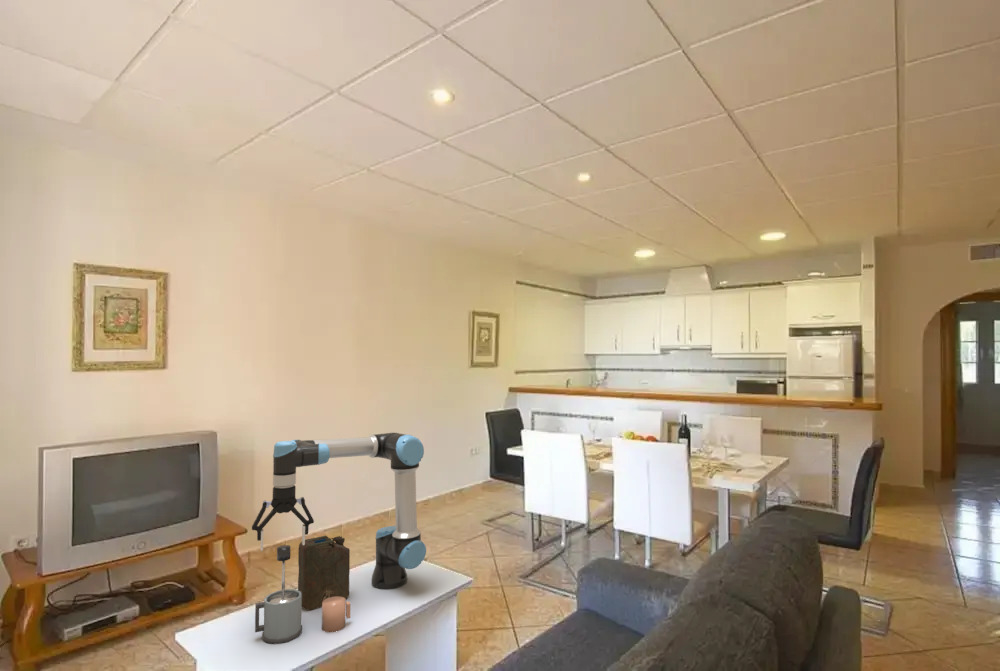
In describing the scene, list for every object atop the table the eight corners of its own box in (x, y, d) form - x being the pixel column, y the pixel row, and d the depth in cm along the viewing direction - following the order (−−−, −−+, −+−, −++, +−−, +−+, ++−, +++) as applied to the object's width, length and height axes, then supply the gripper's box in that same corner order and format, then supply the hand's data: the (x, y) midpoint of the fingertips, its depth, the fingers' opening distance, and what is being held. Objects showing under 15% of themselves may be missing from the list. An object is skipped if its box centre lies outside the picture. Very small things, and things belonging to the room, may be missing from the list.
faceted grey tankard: (300, 622, 195) (301, 586, 196) (303, 639, 183) (304, 600, 184) (254, 631, 189) (255, 594, 189) (254, 649, 177) (255, 609, 177)
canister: (303, 613, 202) (304, 546, 203) (296, 605, 209) (297, 540, 210) (350, 598, 214) (351, 535, 215) (342, 591, 220) (342, 530, 222)
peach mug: (347, 618, 198) (348, 593, 198) (351, 628, 190) (351, 602, 191) (320, 624, 194) (321, 598, 194) (323, 634, 186) (323, 608, 187)
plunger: (296, 592, 193) (296, 541, 194) (297, 602, 185) (298, 549, 186) (268, 596, 189) (269, 545, 190) (269, 607, 181) (269, 553, 182)
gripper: (320, 480, 197) (318, 538, 196) (245, 486, 187) (243, 548, 186) (322, 484, 190) (321, 545, 189) (245, 491, 180) (243, 555, 179)
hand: (282, 546), depth 188 cm, fingers open, 13 cm apart
